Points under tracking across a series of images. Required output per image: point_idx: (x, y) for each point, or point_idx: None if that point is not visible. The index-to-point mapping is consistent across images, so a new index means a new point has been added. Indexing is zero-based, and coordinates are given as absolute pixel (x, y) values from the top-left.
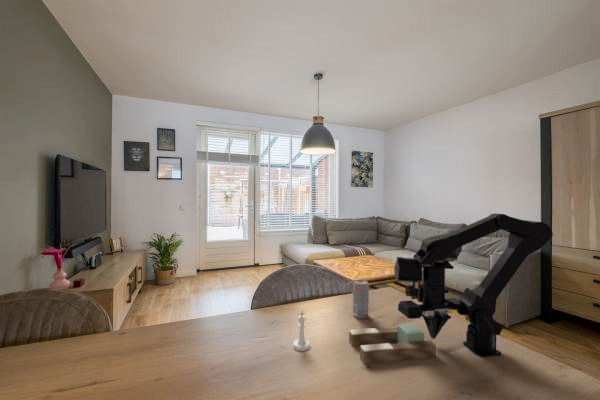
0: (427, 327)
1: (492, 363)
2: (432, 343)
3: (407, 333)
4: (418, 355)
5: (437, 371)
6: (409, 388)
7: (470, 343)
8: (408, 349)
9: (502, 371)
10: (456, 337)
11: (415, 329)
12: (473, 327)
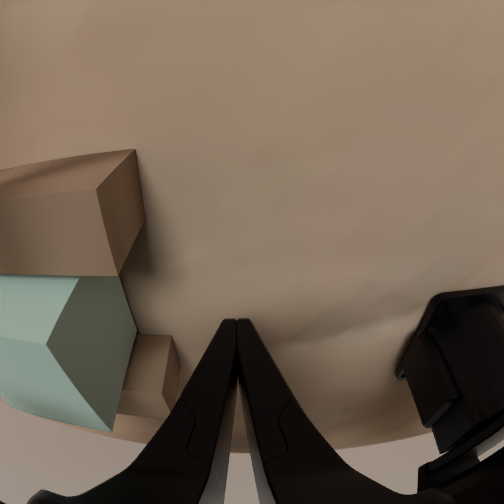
0: (190, 382)
1: (387, 393)
2: (162, 408)
3: (10, 405)
4: None
5: None
6: None
7: (414, 374)
8: None
9: (368, 414)
10: (477, 223)
11: (56, 400)
12: (464, 437)
